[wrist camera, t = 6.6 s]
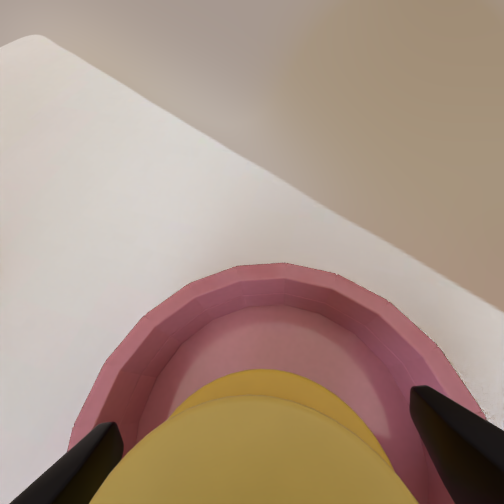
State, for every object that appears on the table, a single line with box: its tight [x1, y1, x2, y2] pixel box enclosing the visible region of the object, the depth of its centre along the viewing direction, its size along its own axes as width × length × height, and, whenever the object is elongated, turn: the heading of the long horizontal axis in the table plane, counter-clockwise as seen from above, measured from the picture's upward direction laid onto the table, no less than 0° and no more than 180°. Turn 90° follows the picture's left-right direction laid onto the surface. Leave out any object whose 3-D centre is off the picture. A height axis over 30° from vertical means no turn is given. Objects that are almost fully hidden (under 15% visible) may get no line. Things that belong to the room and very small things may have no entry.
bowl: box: [67, 263, 486, 504], centre depth 11 cm, size 15×15×4 cm
